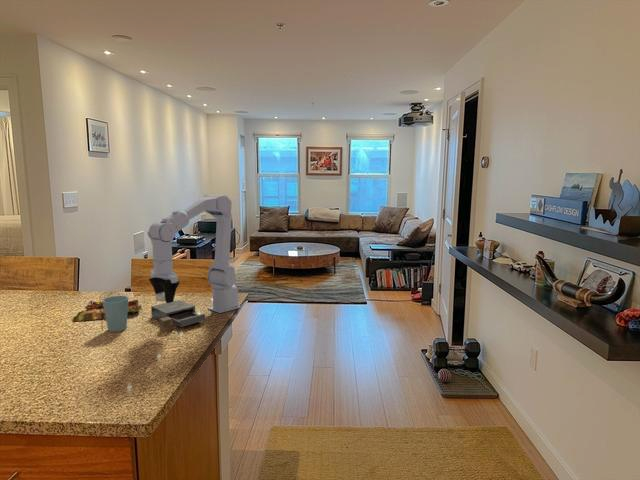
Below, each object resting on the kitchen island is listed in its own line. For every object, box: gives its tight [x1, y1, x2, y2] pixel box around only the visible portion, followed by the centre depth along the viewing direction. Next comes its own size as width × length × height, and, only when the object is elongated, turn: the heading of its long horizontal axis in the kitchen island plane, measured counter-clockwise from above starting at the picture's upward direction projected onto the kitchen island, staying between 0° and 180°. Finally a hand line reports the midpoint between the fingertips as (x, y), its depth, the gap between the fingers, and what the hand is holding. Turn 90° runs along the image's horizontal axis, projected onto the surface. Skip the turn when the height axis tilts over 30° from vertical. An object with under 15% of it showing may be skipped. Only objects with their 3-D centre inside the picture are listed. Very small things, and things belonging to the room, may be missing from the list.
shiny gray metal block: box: [150, 299, 196, 322], centre depth 146 cm, size 11×11×4 cm
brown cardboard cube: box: [158, 317, 174, 333], centre depth 134 cm, size 3×3×4 cm
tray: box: [169, 311, 206, 328], centre depth 141 cm, size 9×10×2 cm
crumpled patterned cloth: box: [72, 299, 142, 322], centre depth 151 cm, size 22×19×4 cm
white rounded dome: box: [155, 292, 166, 302], centre depth 132 cm, size 6×6×2 cm
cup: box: [101, 295, 129, 333], centre depth 134 cm, size 8×8×10 cm
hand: (165, 300), depth 133 cm, fingers closed on white rounded dome, 6 cm apart
